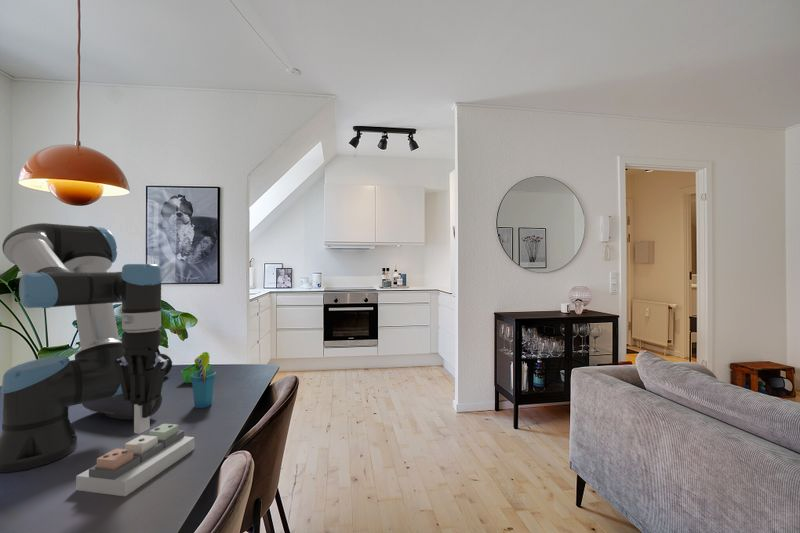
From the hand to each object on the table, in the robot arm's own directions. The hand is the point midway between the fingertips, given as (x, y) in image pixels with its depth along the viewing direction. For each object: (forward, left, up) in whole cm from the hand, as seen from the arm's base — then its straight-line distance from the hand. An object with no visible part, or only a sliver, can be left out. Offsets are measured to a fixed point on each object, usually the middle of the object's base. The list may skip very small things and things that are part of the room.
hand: (142, 430), depth 85 cm
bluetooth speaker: (-31, +24, -9) cm, 40 cm away
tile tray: (0, 0, -9) cm, 9 cm away
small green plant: (-34, +61, -9) cm, 71 cm away
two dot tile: (0, +7, -4) cm, 8 cm away
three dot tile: (0, -6, -4) cm, 8 cm away
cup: (-13, +37, -9) cm, 40 cm away
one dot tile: (0, 0, -4) cm, 4 cm away
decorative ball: (-52, +60, -9) cm, 80 cm away
